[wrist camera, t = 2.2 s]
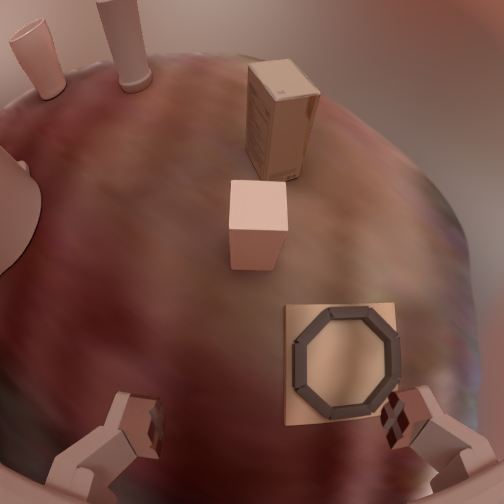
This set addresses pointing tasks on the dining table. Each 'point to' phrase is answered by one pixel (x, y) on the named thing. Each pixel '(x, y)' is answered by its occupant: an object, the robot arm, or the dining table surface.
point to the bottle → (126, 43)
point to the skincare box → (279, 118)
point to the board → (339, 361)
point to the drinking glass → (39, 58)
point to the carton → (257, 223)
